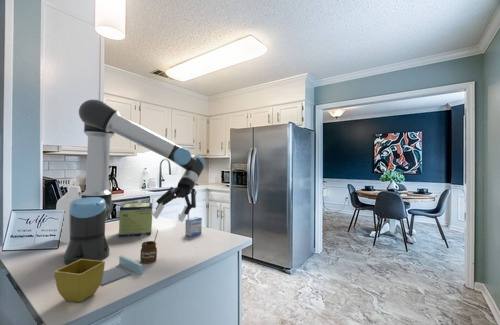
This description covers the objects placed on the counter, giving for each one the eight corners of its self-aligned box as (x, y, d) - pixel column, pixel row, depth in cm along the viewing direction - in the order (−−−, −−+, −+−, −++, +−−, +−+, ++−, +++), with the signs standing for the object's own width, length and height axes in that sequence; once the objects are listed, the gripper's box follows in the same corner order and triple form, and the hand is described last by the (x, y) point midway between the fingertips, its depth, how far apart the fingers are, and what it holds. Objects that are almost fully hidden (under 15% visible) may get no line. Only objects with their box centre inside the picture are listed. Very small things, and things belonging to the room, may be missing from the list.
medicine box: (190, 236, 124) (191, 220, 124) (185, 235, 126) (185, 219, 126) (201, 233, 130) (202, 217, 130) (196, 231, 133) (196, 216, 133)
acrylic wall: (119, 264, 90) (119, 256, 90) (121, 263, 91) (122, 255, 91) (139, 274, 82) (140, 265, 82) (142, 273, 83) (142, 264, 83)
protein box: (151, 235, 125) (152, 205, 125) (118, 237, 120) (118, 207, 120) (151, 229, 135) (152, 202, 135) (121, 232, 129) (121, 203, 129)
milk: (93, 237, 120) (94, 186, 120) (68, 243, 110) (69, 188, 110) (79, 233, 125) (80, 184, 125) (53, 239, 115) (54, 186, 115)
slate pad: (89, 277, 79) (89, 276, 79) (117, 267, 87) (117, 266, 87) (102, 285, 74) (102, 284, 74) (130, 274, 82) (130, 273, 82)
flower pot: (52, 303, 64) (52, 271, 64) (80, 287, 73) (81, 258, 73) (79, 308, 63) (80, 274, 63) (105, 290, 71) (106, 261, 71)
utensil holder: (140, 258, 95) (141, 228, 95) (157, 256, 97) (158, 227, 97) (139, 264, 89) (140, 233, 89) (157, 262, 92) (158, 231, 92)
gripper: (212, 187, 116) (195, 226, 102) (170, 185, 124) (148, 220, 110) (207, 177, 111) (188, 216, 97) (163, 175, 119) (140, 211, 105)
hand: (167, 218), depth 103 cm, fingers open, 13 cm apart
